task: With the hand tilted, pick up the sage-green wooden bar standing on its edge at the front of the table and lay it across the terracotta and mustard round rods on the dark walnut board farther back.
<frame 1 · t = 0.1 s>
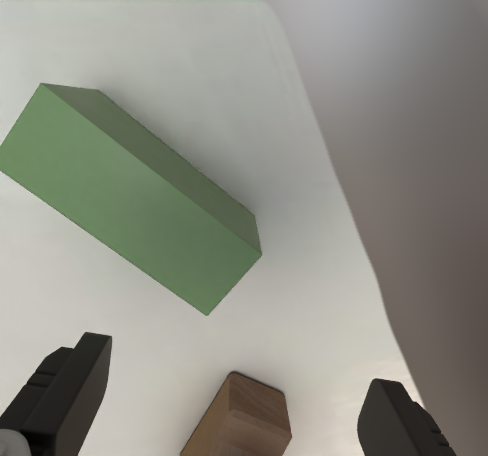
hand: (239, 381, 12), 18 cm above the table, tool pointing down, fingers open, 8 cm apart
decorative block: (230, 424, 35), on the table
bar: (160, 182, 28), on the table
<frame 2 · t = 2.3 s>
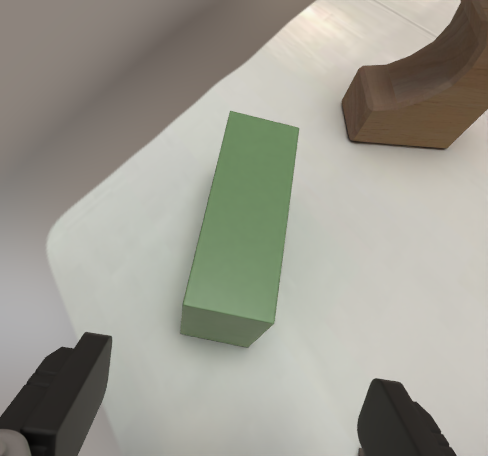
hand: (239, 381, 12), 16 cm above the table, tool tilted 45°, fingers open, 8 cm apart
decorative block: (392, 126, 40), on the table
bar: (231, 252, 31), on the table
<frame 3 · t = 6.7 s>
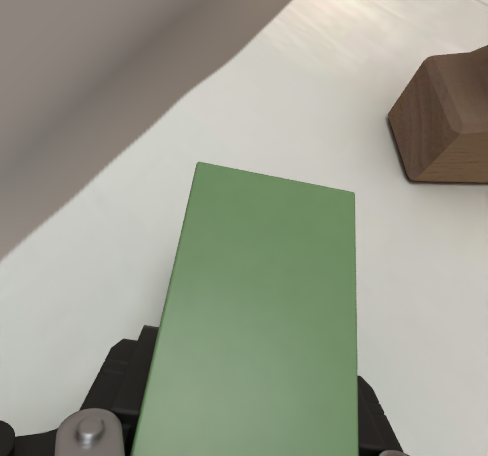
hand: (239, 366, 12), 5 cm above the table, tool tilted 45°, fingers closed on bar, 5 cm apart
decorative block: (469, 152, 25), on the table
bar: (217, 428, 16), on the table, touching gripper
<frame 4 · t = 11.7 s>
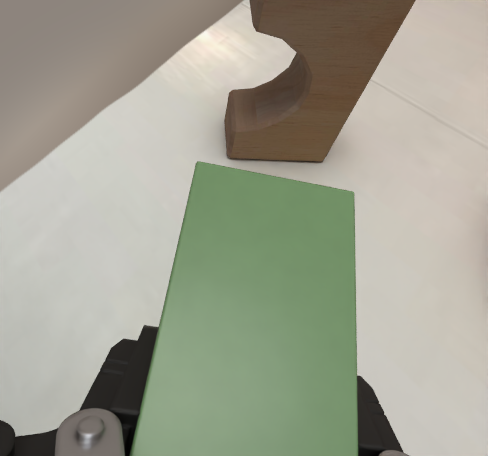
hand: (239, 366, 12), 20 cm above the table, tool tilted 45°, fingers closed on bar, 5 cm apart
decorative block: (273, 142, 43), on the table
bar: (217, 428, 16), point 16 cm above the table, touching gripper
when the fingers open (9 cm above the table, at t = 16.6 s): bar stays where it is, resting on rod rack.
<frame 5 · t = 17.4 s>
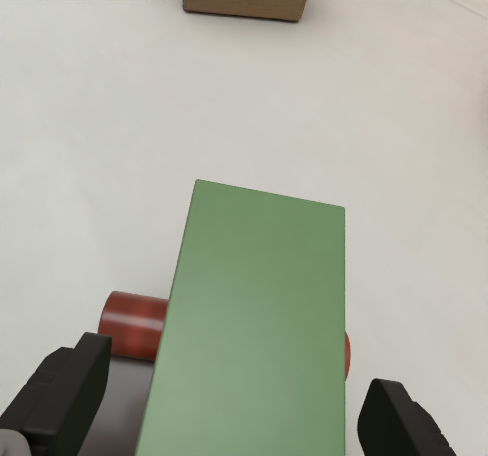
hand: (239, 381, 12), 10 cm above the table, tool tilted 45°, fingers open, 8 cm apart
rod rack: (209, 427, 20), on the table
decorative block: (240, 1, 37), on the table
bar: (216, 430, 16), point 4 cm above the table, touching rod rack
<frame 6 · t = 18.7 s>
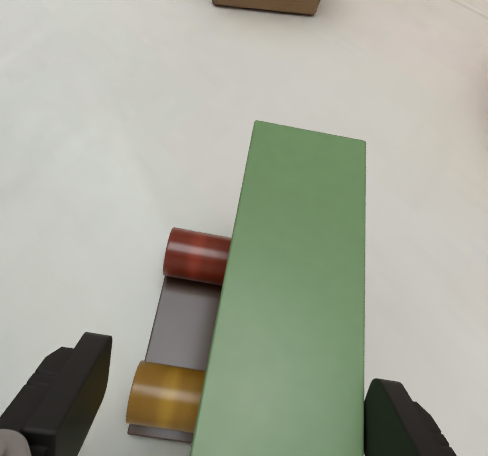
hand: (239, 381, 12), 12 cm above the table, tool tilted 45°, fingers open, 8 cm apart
rod rack: (249, 340, 24), on the table
bar: (264, 329, 21), point 4 cm above the table, touching rod rack
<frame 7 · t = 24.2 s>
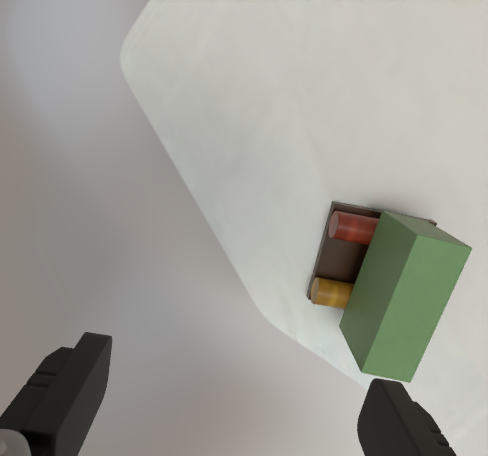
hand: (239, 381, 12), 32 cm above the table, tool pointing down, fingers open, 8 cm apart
rod rack: (367, 259, 45), on the table
bar: (381, 275, 42), point 4 cm above the table, touching rod rack
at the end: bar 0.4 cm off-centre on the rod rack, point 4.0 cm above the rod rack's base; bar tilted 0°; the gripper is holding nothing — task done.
